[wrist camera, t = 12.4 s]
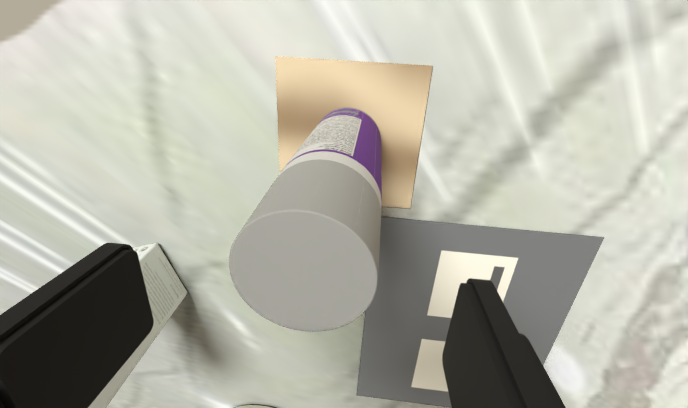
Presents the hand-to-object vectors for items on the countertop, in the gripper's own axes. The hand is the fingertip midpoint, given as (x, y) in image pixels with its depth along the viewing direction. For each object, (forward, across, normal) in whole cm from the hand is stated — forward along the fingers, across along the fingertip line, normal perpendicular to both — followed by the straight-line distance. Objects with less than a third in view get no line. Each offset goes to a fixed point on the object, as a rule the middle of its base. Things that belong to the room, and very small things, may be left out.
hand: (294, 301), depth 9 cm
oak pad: (+15, 0, -1) cm, 15 cm away
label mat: (+16, -11, +16) cm, 25 cm away
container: (+16, 0, -1) cm, 16 cm away
